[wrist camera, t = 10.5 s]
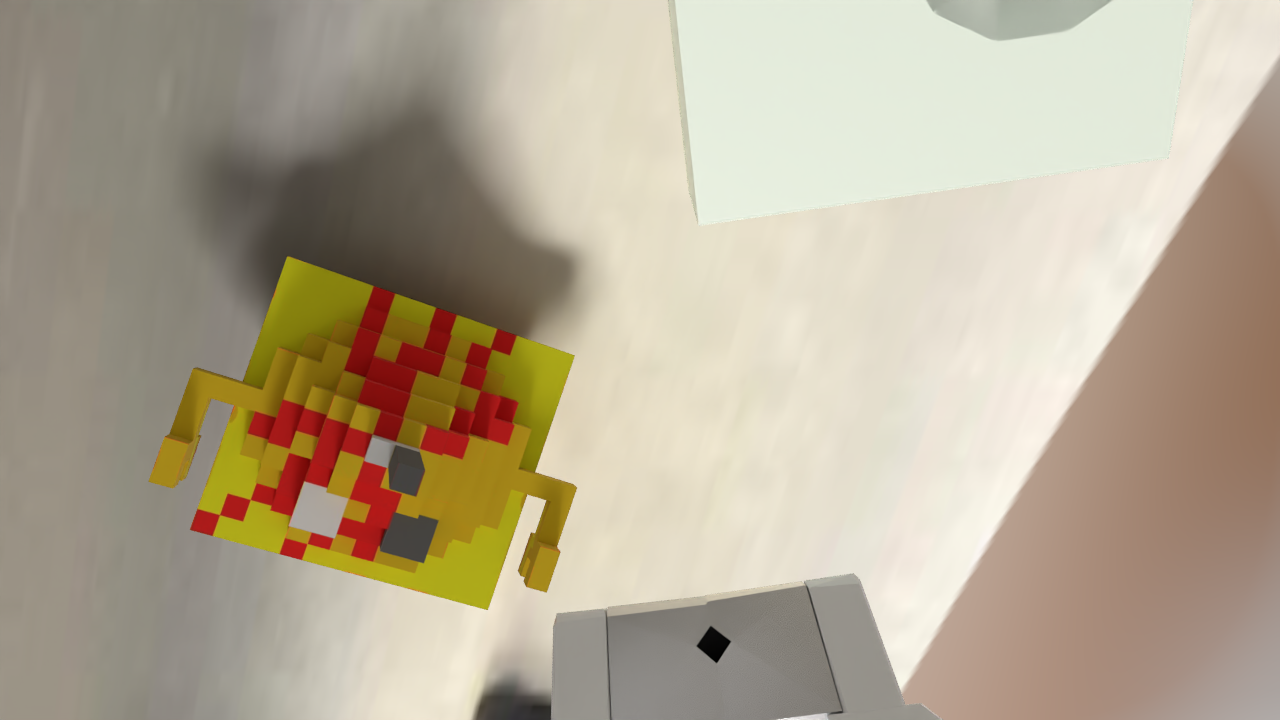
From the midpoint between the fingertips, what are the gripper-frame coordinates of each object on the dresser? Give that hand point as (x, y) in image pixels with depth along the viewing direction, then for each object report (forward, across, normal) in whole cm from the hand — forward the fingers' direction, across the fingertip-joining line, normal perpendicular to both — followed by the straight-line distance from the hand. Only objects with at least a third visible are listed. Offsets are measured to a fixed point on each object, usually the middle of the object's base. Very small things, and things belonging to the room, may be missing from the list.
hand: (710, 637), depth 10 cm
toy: (+27, +10, +12) cm, 32 cm away
